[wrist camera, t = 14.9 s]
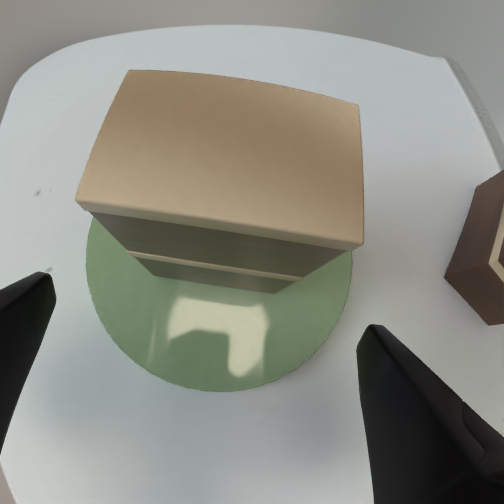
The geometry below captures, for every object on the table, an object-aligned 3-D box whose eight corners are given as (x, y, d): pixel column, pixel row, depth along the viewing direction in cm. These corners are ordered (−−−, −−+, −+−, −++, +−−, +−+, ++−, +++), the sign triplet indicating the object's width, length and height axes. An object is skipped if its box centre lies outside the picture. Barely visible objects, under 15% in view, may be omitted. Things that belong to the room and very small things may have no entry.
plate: (298, 420, 16) (303, 425, 15) (56, 322, 15) (48, 321, 14) (367, 191, 20) (374, 185, 19) (159, 113, 19) (158, 104, 18)
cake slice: (276, 295, 16) (365, 244, 7) (152, 276, 16) (72, 200, 6) (283, 221, 17) (359, 104, 8) (167, 203, 17) (127, 68, 7)
